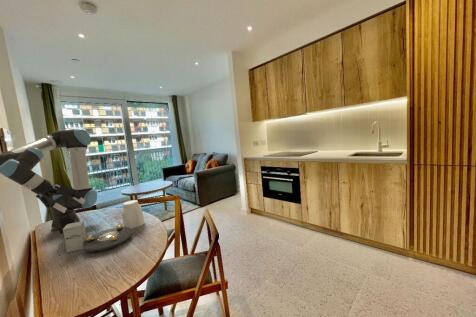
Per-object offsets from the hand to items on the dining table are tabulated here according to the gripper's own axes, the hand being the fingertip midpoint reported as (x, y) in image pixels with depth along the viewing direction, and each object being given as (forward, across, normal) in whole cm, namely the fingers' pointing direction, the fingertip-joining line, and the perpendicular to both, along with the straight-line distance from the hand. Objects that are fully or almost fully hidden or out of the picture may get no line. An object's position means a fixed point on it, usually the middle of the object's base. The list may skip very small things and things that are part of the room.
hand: (74, 206), depth 119 cm
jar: (+29, +17, -3) cm, 34 cm away
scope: (+14, -13, -8) cm, 20 cm away
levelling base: (+17, +16, -20) cm, 31 cm away
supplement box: (+11, +2, -21) cm, 23 cm away
